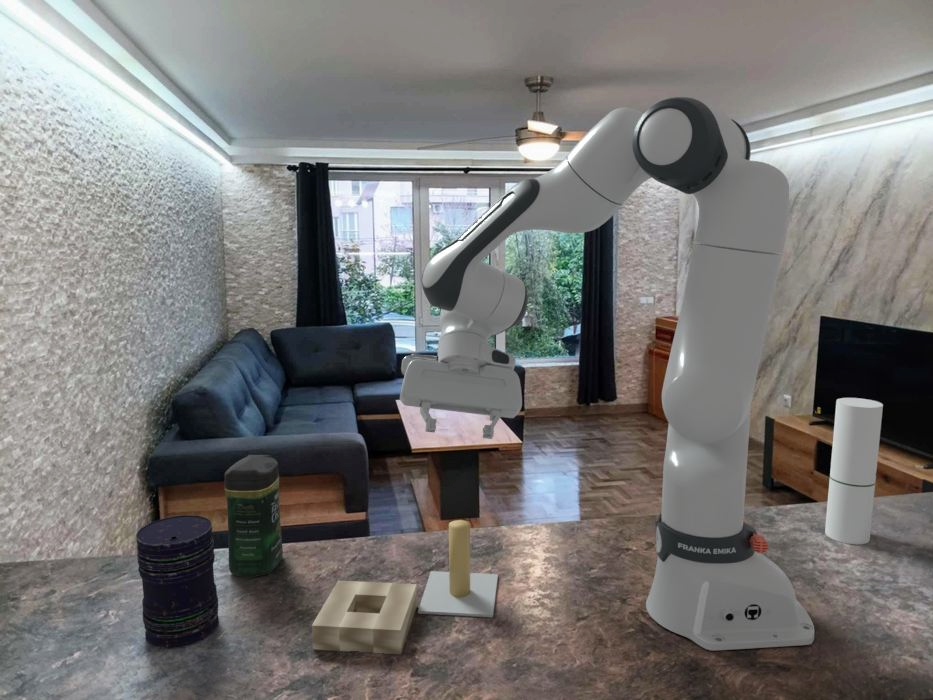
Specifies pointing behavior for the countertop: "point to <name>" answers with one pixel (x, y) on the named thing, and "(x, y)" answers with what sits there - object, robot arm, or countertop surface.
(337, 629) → the hole block
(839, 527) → the cylindrical container
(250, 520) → the coffee jar
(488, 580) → the mat
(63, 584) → the countertop surface
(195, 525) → the dark blue cylinder
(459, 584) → the peg
